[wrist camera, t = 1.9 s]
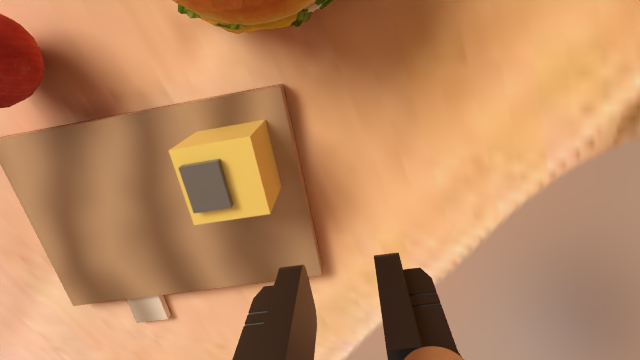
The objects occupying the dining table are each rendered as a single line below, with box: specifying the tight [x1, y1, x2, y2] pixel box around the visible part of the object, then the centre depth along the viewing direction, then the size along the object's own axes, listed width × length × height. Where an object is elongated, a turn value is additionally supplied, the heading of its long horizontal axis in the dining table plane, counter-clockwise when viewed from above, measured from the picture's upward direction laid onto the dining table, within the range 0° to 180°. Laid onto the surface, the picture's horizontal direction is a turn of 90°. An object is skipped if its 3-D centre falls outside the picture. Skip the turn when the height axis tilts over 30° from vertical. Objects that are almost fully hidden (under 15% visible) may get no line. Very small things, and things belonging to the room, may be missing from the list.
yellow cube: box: [168, 120, 281, 225], centre depth 25 cm, size 5×5×5 cm
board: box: [0, 84, 323, 323], centre depth 30 cm, size 22×18×1 cm
